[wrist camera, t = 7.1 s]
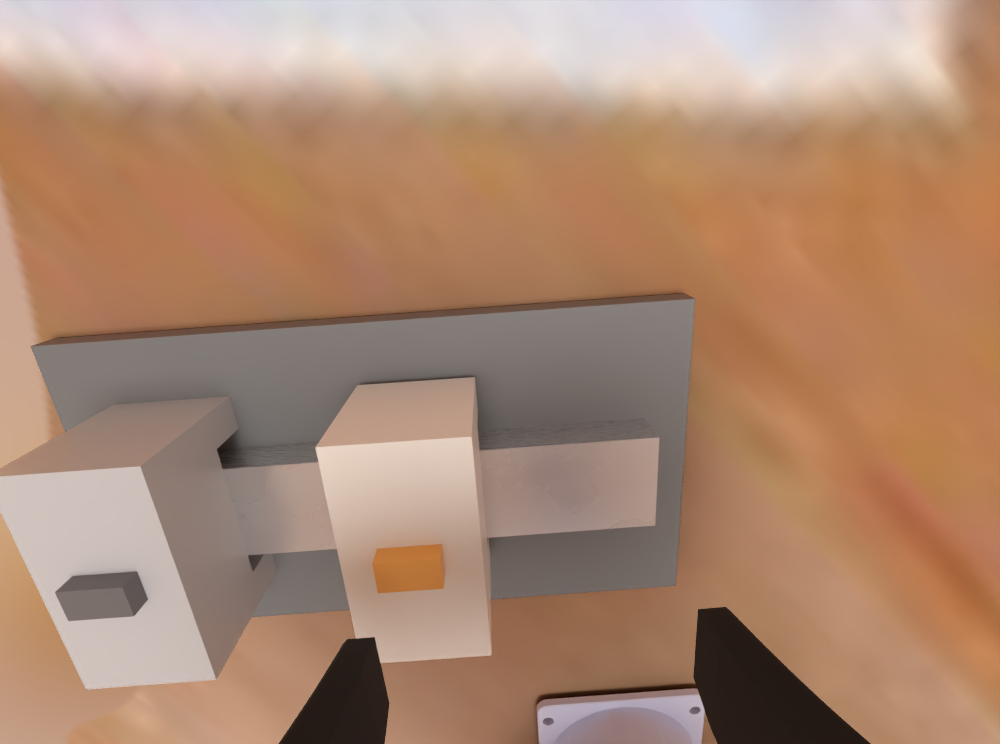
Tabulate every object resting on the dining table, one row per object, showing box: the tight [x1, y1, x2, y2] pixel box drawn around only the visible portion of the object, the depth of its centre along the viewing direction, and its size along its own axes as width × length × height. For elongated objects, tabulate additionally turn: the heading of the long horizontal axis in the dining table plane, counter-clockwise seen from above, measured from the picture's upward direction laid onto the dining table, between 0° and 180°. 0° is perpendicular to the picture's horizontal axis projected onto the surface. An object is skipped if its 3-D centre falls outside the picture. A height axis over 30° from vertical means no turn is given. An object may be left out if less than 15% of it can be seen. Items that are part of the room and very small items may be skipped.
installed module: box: [0, 396, 277, 689], centre depth 16 cm, size 8×4×5 cm, turn 4°
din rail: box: [217, 418, 659, 555], centre depth 18 cm, size 4×19×2 cm, turn 94°
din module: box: [315, 377, 492, 663], centre depth 16 cm, size 8×4×5 cm, turn 4°
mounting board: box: [31, 293, 695, 617], centre depth 19 cm, size 12×22×1 cm, turn 94°
